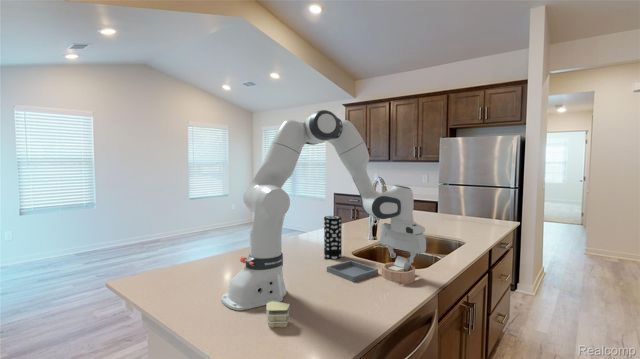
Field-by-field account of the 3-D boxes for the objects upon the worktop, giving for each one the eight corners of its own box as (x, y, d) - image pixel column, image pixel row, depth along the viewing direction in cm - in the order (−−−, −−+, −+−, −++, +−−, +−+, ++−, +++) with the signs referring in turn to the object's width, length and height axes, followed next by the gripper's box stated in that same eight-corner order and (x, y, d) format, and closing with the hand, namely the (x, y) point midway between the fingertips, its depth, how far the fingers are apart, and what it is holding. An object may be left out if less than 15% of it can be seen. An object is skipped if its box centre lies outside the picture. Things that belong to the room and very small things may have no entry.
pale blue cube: (403, 267, 130) (406, 258, 132) (393, 264, 134) (397, 255, 135) (407, 271, 133) (411, 262, 134) (398, 268, 136) (402, 259, 138)
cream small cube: (396, 280, 128) (396, 270, 128) (388, 277, 131) (388, 267, 131) (404, 278, 131) (404, 268, 130) (395, 275, 134) (395, 265, 134)
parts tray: (353, 284, 126) (353, 277, 126) (326, 273, 138) (326, 266, 138) (378, 275, 135) (378, 269, 135) (350, 266, 147) (350, 260, 147)
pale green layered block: (297, 318, 100) (296, 300, 100) (290, 333, 91) (290, 314, 91) (265, 316, 101) (264, 298, 101) (255, 331, 92) (255, 312, 92)
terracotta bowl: (401, 286, 123) (401, 275, 123) (375, 277, 133) (375, 266, 133) (421, 279, 131) (421, 267, 131) (395, 270, 141) (395, 260, 141)
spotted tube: (335, 262, 154) (334, 219, 152) (320, 259, 159) (320, 217, 157) (344, 257, 160) (344, 216, 159) (330, 255, 165) (330, 215, 164)
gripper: (376, 223, 138) (376, 255, 139) (419, 231, 122) (418, 267, 123) (386, 221, 142) (386, 253, 143) (428, 228, 127) (428, 264, 127)
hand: (401, 259), depth 133 cm, fingers open, 7 cm apart
